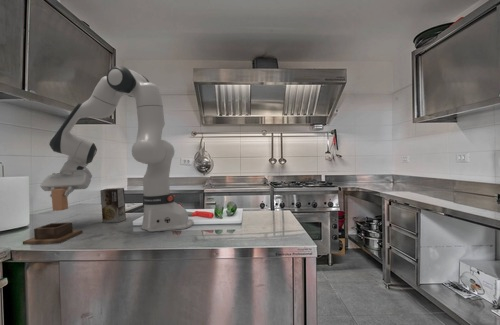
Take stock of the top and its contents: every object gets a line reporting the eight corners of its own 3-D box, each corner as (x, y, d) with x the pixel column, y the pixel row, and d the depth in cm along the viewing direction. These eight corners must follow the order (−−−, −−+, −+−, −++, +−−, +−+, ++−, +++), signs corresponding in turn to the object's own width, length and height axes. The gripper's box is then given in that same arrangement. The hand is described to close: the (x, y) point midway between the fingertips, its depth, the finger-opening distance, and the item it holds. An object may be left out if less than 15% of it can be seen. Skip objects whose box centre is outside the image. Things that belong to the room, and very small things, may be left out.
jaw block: (68, 208, 124) (66, 188, 124) (61, 210, 120) (60, 189, 120) (59, 209, 124) (57, 188, 124) (52, 210, 120) (51, 190, 120)
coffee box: (126, 219, 142) (124, 187, 142) (119, 222, 136) (117, 189, 135) (109, 219, 143) (107, 188, 142) (101, 222, 137) (99, 189, 136)
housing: (82, 232, 118) (81, 220, 118) (59, 243, 104) (58, 229, 104) (50, 234, 119) (49, 222, 118) (22, 244, 105) (21, 231, 104)
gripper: (45, 169, 129) (30, 193, 119) (89, 166, 128) (77, 190, 119) (53, 178, 133) (39, 202, 124) (95, 175, 133) (84, 199, 123)
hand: (58, 196), depth 121 cm, fingers closed on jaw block, 4 cm apart
